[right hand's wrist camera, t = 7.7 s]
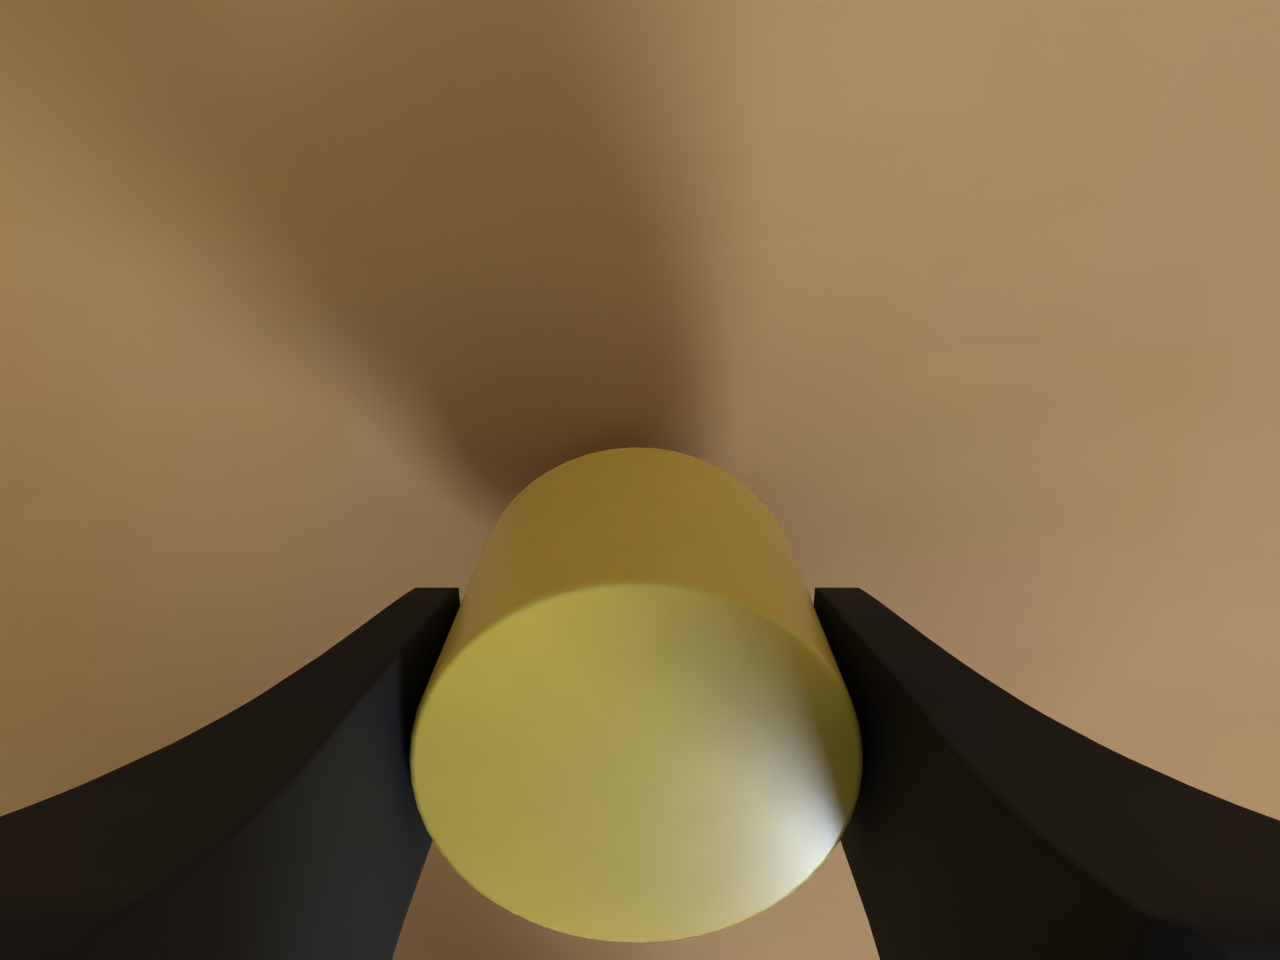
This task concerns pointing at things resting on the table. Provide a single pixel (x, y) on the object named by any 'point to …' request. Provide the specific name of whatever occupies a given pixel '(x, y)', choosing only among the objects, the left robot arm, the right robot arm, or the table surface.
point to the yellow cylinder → (636, 707)
